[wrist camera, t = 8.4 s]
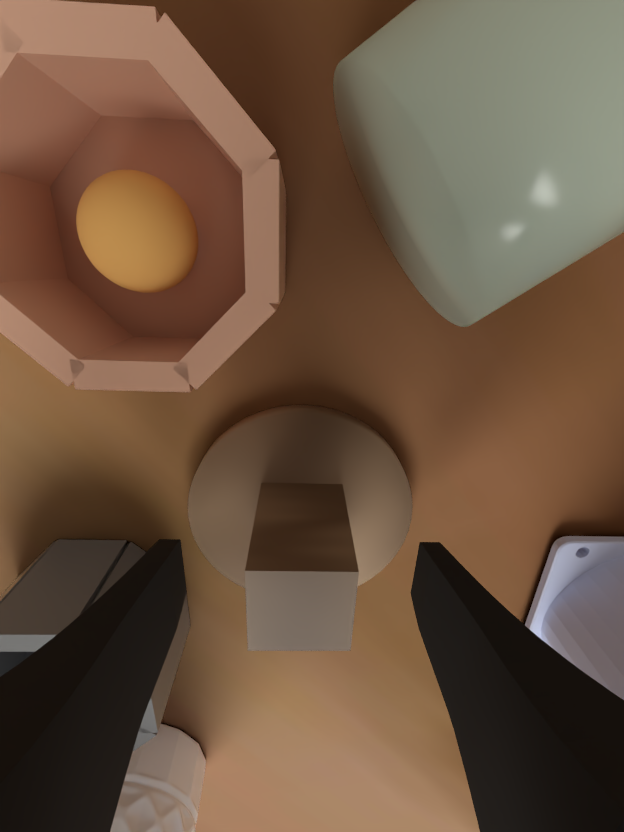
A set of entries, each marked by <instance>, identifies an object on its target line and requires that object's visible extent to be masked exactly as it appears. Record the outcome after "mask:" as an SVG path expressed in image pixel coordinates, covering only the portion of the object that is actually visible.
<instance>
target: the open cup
mask: <svg viewBox="0 0 624 832" xmlns="http://www.w3.org/2000/svg"><path fill="white" fill-rule="evenodd" d="M116 170H137V171H141V172H145V173H148V174H150V175H153V176H155V177H157V178H159V179H161V180H162V181H164V182H165V183H167V184H168V185H169V186H170V187H172V188H173V189H174V190H175V191H176V192H177V193H178V194H179V195H180V196H181V198H182V199H183V200H184V202H185V203H186V205H187V206H188V208H189V210H190V212H191V214H192V216H193V218H194V221H195V224H196V228H197V233H198V252H197V257H196V260H195V263H194V265H193V267H192V269H191V271H190V272H189V273H188V275H187V276H186V277H185V278H184V279H183V280H182V281H181V282H180V283H178V284H177V285H176V286H174V287H172V288H170V289H167V290H164V291H161V292H155V293H143V292H136V291H132V290H129V289H126V288H123V287H121V286H119V285H117V284H115V283H113V282H112V281H110V280H109V279H108V278H106V277H105V276H104V275H103V274H101V273H100V272H99V271H98V270H97V269H96V268H95V267H94V265H93V264H92V263H91V261H90V260H89V258H88V257H87V255H86V254H85V252H84V249H83V247H82V245H81V243H80V240H79V236H78V232H77V225H76V215H77V208H78V204H79V201H80V199H81V197H82V194H83V193H84V191H85V190H86V188H87V187H88V186H89V185H90V183H91V182H93V181H94V180H95V179H96V178H98V177H100V176H102V175H103V174H106V173H108V172H111V171H116ZM285 277H286V189H285V185H284V180H283V175H282V170H281V166H280V161H279V160H278V157H277V153H276V149H275V148H274V147H273V146H272V145H271V143H270V142H269V141H268V140H267V138H266V137H265V136H264V135H263V133H262V132H261V131H260V130H259V128H258V127H257V126H256V125H255V123H254V122H253V121H252V120H251V118H250V117H249V116H248V115H247V114H246V112H245V111H244V110H243V109H242V107H241V106H240V105H239V104H238V102H237V101H236V100H235V99H234V97H233V96H232V95H231V94H230V92H229V91H228V90H227V89H226V88H225V86H224V85H223V84H222V83H221V81H220V80H219V79H218V78H217V76H216V75H215V74H214V73H213V71H212V70H211V69H210V68H209V66H208V65H207V64H206V63H205V62H204V60H203V59H202V58H201V57H200V55H199V54H198V53H197V52H196V50H195V49H194V48H193V47H192V45H191V44H190V43H189V42H188V40H187V39H186V38H185V37H184V35H183V34H182V33H181V32H180V31H179V29H178V28H177V27H176V26H175V24H174V23H173V22H172V21H171V19H170V18H169V17H168V16H167V14H166V13H164V14H163V15H162V17H161V16H160V14H159V13H158V11H157V9H156V7H152V6H137V5H121V4H105V3H89V2H74V1H58V0H0V333H2V334H3V335H4V336H5V337H7V338H8V339H9V340H10V341H12V342H13V343H14V344H15V345H17V346H18V347H19V348H20V349H22V350H23V351H24V352H25V353H27V354H28V355H29V356H30V357H32V358H33V359H34V360H35V361H37V362H38V363H39V364H40V365H42V366H43V367H44V368H45V369H47V370H48V371H49V372H50V373H52V374H53V375H54V376H56V377H57V378H58V379H59V380H61V381H62V382H63V383H64V384H66V385H67V386H70V385H72V384H74V385H75V389H80V390H119V391H158V392H191V391H192V389H193V388H195V389H196V390H197V389H198V388H199V387H200V386H201V385H202V384H203V383H204V382H205V381H206V380H207V379H208V378H209V377H210V376H211V375H212V374H213V373H214V372H215V371H216V370H217V369H218V368H219V367H220V366H221V365H222V364H223V363H224V362H225V361H226V360H227V359H228V358H229V357H230V356H231V355H232V354H233V353H234V352H235V351H236V350H237V349H238V348H239V347H240V346H241V345H242V344H243V343H244V342H245V341H246V340H247V339H248V338H249V337H250V336H251V335H252V334H253V333H254V332H255V331H256V330H257V329H258V328H259V327H260V326H261V325H262V324H263V323H264V322H265V321H266V320H267V319H268V318H269V317H270V316H271V315H272V314H273V313H274V312H275V311H276V310H277V308H278V306H279V304H280V302H281V301H282V299H283V296H284V294H285Z"/></svg>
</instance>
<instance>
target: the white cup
mask: <svg viewBox="0 0 624 832" xmlns="http://www.w3.org/2000/svg"><path fill="white" fill-rule="evenodd" d="M205 767H206V760H205V757H204V755H203V752H202V750H201V748H200V745H199V744H198V743H197V742H196V741H195V740H193V739H192V738H191V737H189V736H188V735H187V734H185V733H184V732H183V731H181V730H180V729H177V728H174V727H171V726H167V725H166V724H160V727H159V731H158V733H157V735H156V736H155V737H153V738H152V739H151V740H149V741H148V742H146V743H145V744H143V745H142V746H140V747H139V748H137V749H136V750H135V751H133V752H132V755H131V759H130V762H129V766H128V769H127V773H126V776H125V779H124V783H123V787H122V790H121V794H120V797H119V801H118V805H117V808H116V812H115V816H114V819H113V823H112V826H111V830H110V832H195V831H196V826H195V825H196V822H197V817H198V811H199V805H200V799H201V792H202V786H203V780H204V774H205Z"/></svg>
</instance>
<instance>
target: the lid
mask: <svg viewBox="0 0 624 832" xmlns="http://www.w3.org/2000/svg"><path fill="white" fill-rule="evenodd" d="M411 517H412V494H411V490H410V486H409V482H408V479H407V477H406V474H405V472H404V469H403V467H402V465H401V463H400V461H399V459H398V458H397V456H396V454H395V453H394V451H393V449H392V448H391V447H390V445H389V444H388V443H387V442H386V441H385V439H384V438H383V437H382V436H381V435H380V434H379V433H377V432H376V431H375V430H374V429H373V428H372V427H370V426H369V425H367V424H366V423H364V422H363V421H361V420H359V419H357V418H355V417H353V416H351V415H349V414H347V413H344V412H341V411H338V410H335V409H331V408H327V407H322V406H314V405H287V406H280V407H274V408H270V409H267V410H263V411H260V412H257V413H255V414H253V415H250V416H248V417H246V418H244V419H242V420H241V421H239V422H237V423H236V424H234V425H232V426H231V427H230V428H229V429H227V430H226V431H225V432H224V433H222V434H221V435H220V436H219V437H218V439H217V440H216V441H215V442H214V443H213V444H212V445H211V447H210V448H209V450H208V451H207V452H206V454H205V455H204V457H203V459H202V461H201V463H200V465H199V467H198V469H197V471H196V473H195V475H194V478H193V481H192V484H191V487H190V490H189V498H188V518H189V523H190V528H191V531H192V534H193V537H194V539H195V541H196V543H197V545H198V547H199V549H200V550H201V552H202V553H203V555H204V556H205V557H206V559H207V560H208V561H209V562H210V563H211V564H212V565H213V567H214V568H215V569H216V570H218V571H219V572H220V573H221V574H222V575H224V576H225V577H226V578H228V579H229V580H231V581H232V582H234V583H236V584H237V585H239V586H241V587H243V588H245V589H246V614H247V641H248V651H350V649H351V640H352V631H353V622H354V613H355V604H356V594H357V586H359V585H361V584H363V583H365V582H366V581H368V580H369V579H371V578H372V577H374V576H375V575H376V574H378V573H379V572H380V571H381V570H382V569H383V568H384V567H385V566H386V565H387V564H388V563H389V562H390V561H391V560H392V559H393V558H394V556H395V555H396V554H397V552H398V551H399V549H400V547H401V546H402V544H403V542H404V540H405V538H406V535H407V533H408V530H409V526H410V522H411Z"/></svg>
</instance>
